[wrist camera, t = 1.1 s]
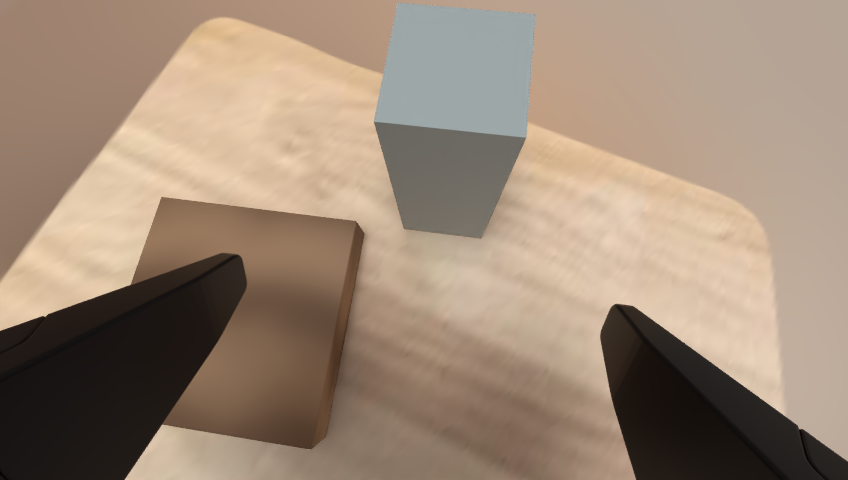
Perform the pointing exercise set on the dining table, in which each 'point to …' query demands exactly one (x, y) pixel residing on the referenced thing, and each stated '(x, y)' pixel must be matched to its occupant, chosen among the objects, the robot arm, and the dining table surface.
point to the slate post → (453, 112)
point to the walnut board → (264, 317)
